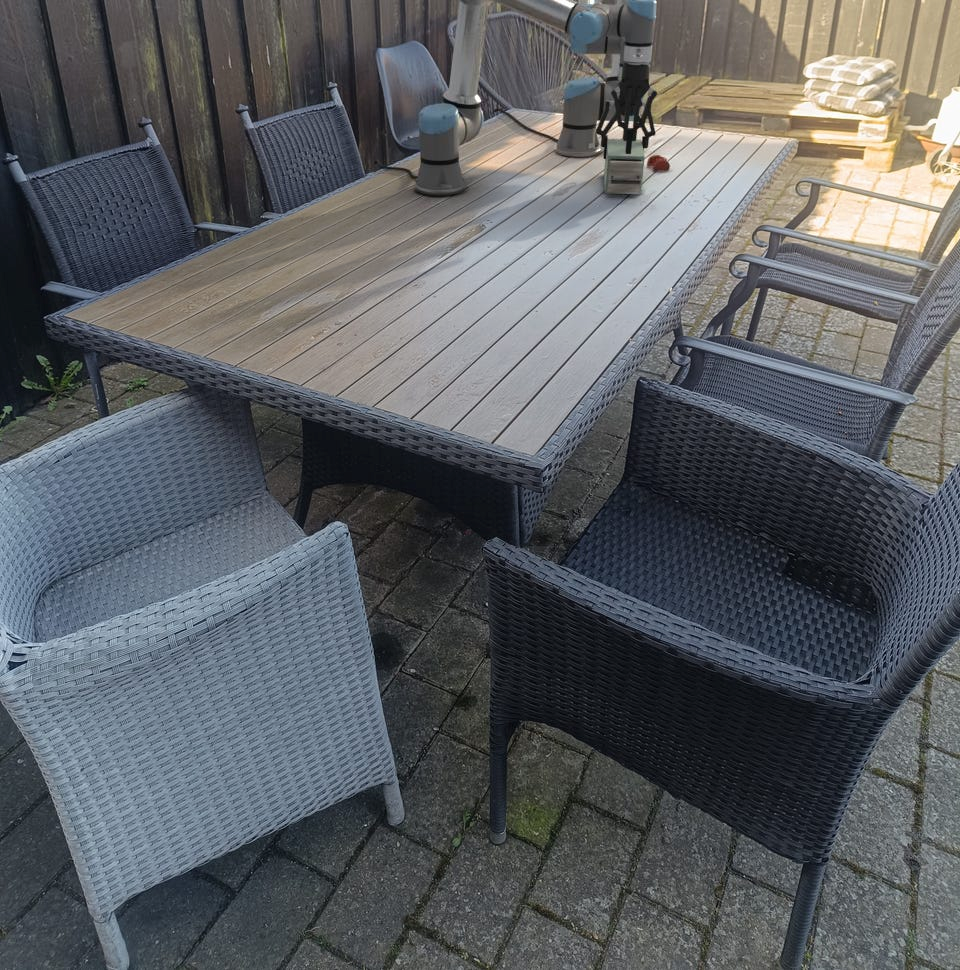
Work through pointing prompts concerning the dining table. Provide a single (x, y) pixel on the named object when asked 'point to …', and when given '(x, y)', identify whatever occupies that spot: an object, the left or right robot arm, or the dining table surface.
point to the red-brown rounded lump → (658, 163)
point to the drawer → (624, 176)
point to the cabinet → (622, 156)
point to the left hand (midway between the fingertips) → (628, 152)
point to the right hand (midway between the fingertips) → (623, 158)
